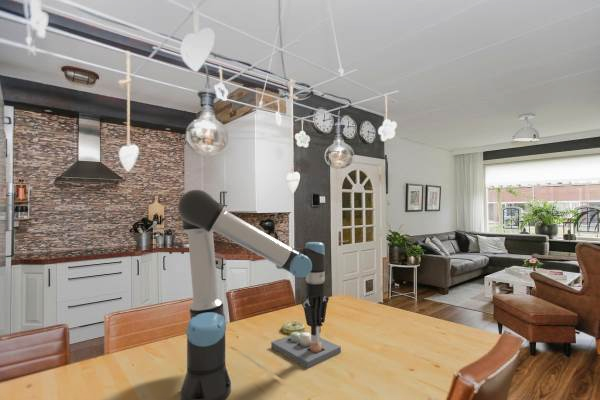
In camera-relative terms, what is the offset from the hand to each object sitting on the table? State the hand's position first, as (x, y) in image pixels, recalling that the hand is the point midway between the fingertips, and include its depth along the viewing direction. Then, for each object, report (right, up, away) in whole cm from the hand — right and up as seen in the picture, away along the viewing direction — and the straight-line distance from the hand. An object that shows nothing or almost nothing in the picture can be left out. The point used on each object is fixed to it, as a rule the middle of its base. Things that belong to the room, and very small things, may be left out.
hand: (315, 342), depth 121 cm
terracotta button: (0, -4, 0) cm, 4 cm away
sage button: (-8, -5, +9) cm, 13 cm away
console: (-4, -6, +4) cm, 8 cm away
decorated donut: (-9, -7, +25) cm, 27 cm away
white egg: (-4, -3, +4) cm, 7 cm away
